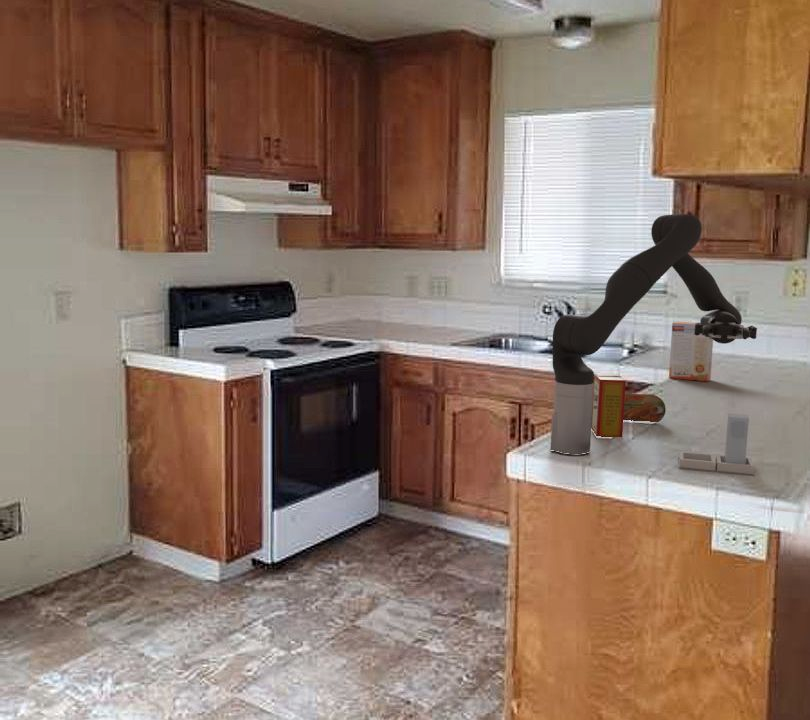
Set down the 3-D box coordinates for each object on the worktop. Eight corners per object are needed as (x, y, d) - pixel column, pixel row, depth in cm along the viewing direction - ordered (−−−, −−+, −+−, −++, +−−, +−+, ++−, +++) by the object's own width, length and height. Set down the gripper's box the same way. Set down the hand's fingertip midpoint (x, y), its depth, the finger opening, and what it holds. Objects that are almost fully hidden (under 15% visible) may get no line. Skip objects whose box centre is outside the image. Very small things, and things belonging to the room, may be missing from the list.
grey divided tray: (678, 474, 194) (679, 461, 194) (677, 461, 205) (678, 449, 204) (754, 481, 190) (755, 468, 189) (750, 468, 200) (751, 456, 200)
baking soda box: (622, 439, 225) (625, 379, 223) (596, 438, 226) (600, 378, 223) (615, 431, 235) (619, 372, 232) (591, 430, 235) (594, 372, 233)
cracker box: (710, 380, 321) (715, 323, 318) (707, 382, 316) (711, 325, 313) (672, 376, 328) (676, 320, 325) (668, 378, 323) (672, 322, 320)
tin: (609, 422, 246) (611, 393, 245) (608, 420, 249) (610, 391, 248) (664, 425, 244) (666, 395, 242) (663, 423, 247) (665, 393, 245)
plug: (725, 470, 194) (729, 417, 192) (724, 464, 198) (728, 413, 197) (744, 471, 193) (749, 419, 191) (742, 466, 197) (747, 414, 196)
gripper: (695, 311, 224) (696, 316, 209) (754, 314, 220) (759, 319, 205) (692, 339, 225) (693, 347, 210) (751, 343, 221) (757, 351, 206)
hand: (726, 333), depth 207 cm, fingers open, 8 cm apart
